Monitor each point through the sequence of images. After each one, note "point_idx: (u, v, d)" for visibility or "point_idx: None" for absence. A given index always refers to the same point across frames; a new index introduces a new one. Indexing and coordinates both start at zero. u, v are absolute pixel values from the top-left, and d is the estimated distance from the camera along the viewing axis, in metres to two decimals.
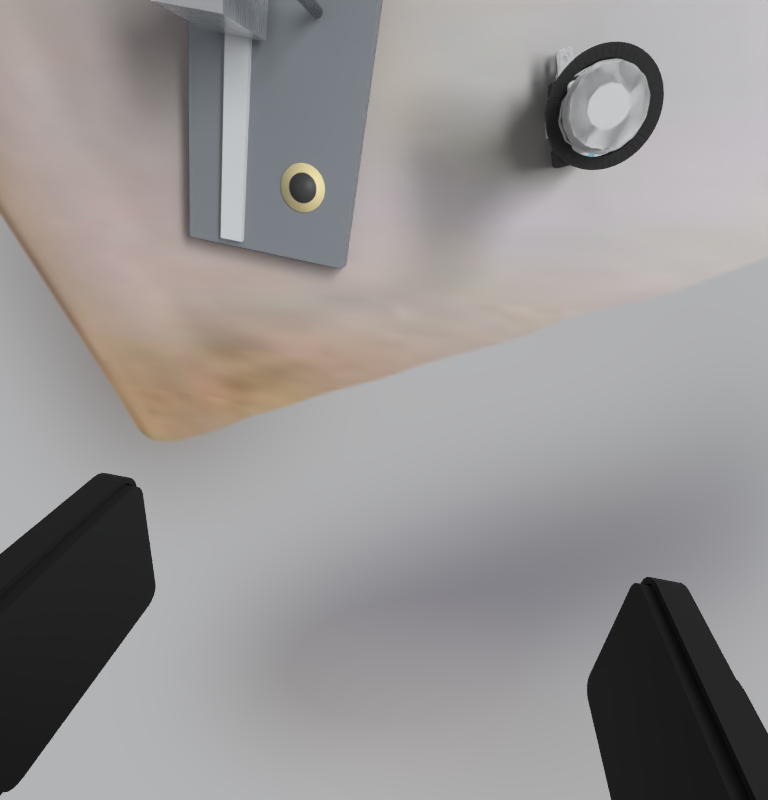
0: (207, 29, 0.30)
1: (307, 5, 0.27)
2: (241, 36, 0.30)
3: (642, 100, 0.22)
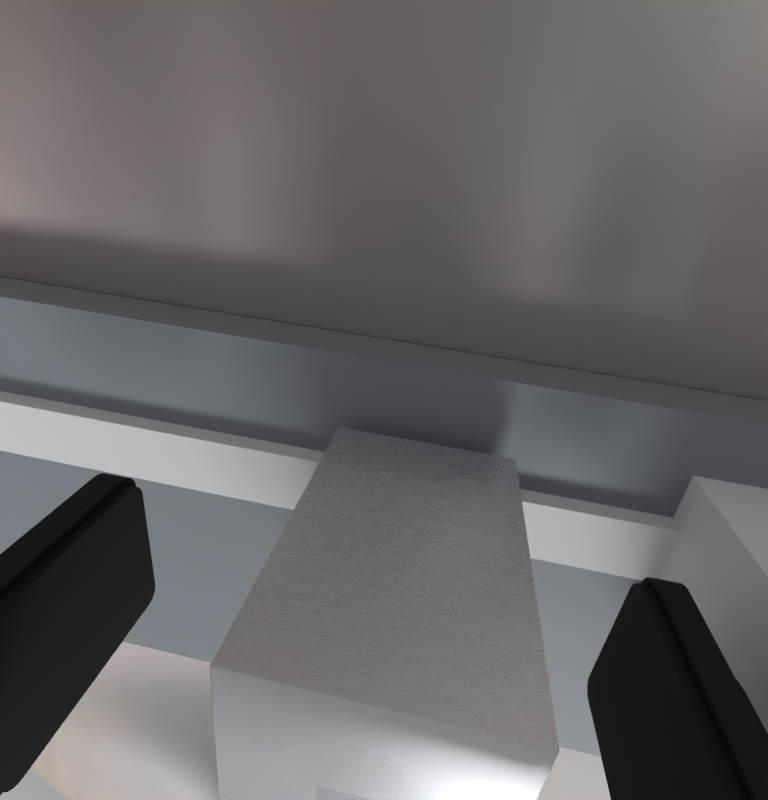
0: None
1: None
2: None
3: None
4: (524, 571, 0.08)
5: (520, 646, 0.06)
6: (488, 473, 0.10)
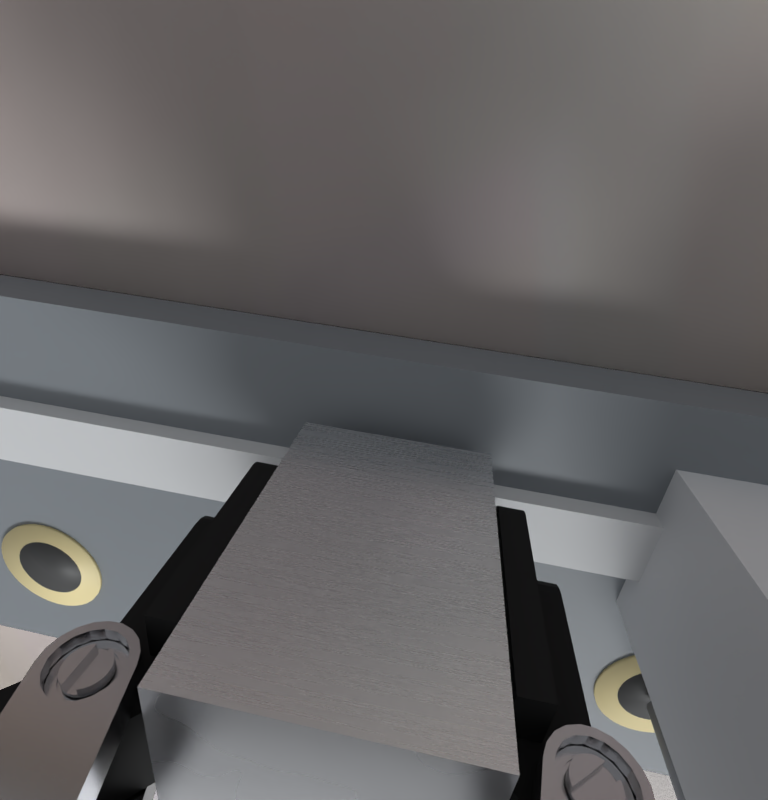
0: None
1: None
2: None
3: None
4: (493, 574, 0.07)
5: (483, 657, 0.06)
6: (461, 469, 0.09)
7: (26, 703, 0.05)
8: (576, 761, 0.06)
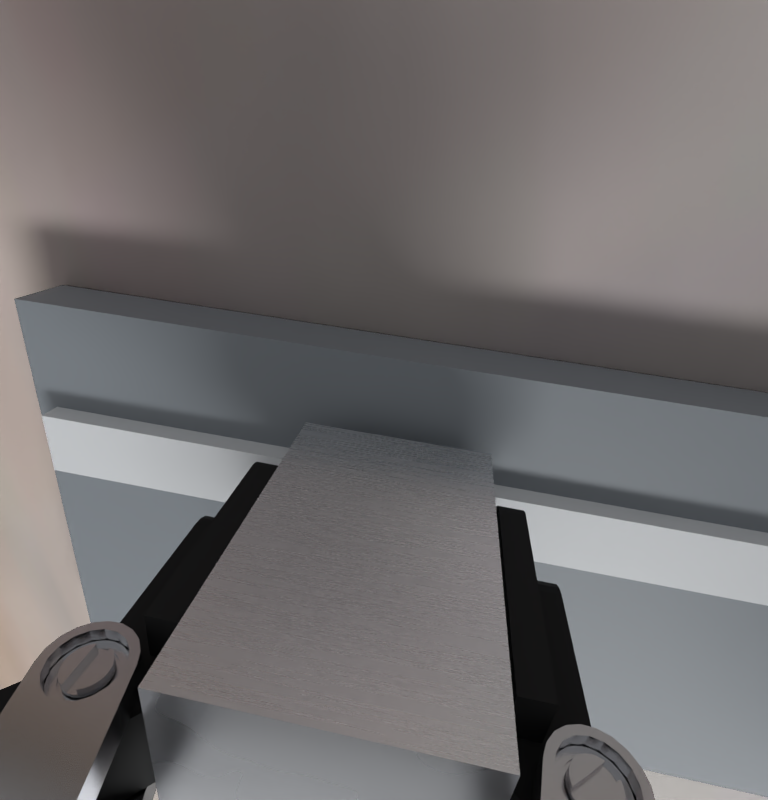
0: None
1: None
2: None
3: None
4: (493, 574, 0.07)
5: (484, 657, 0.06)
6: (461, 469, 0.09)
7: (26, 703, 0.05)
8: (576, 761, 0.06)
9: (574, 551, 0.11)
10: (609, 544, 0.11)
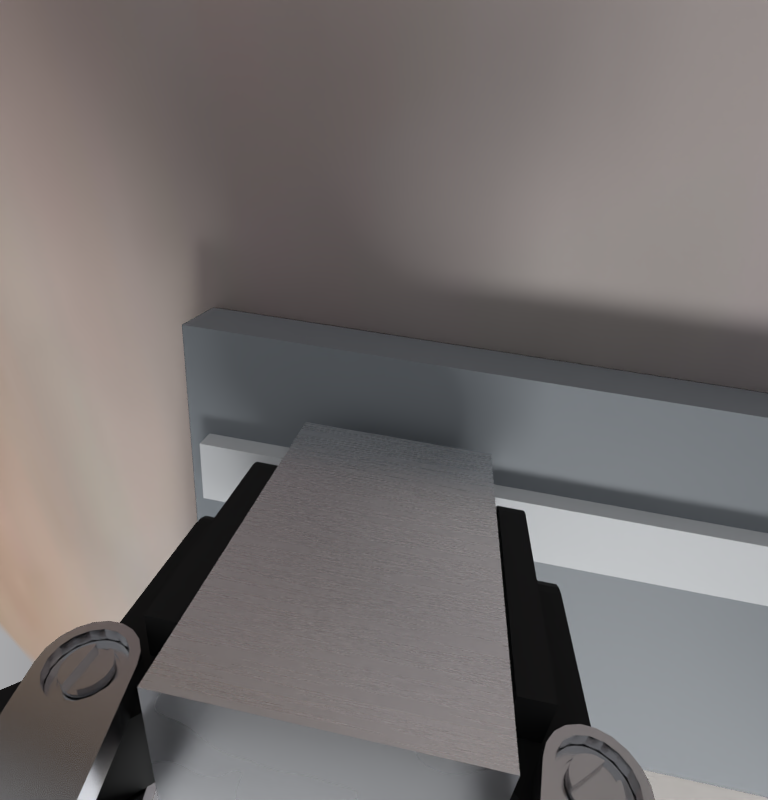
0: None
1: None
2: None
3: None
4: (493, 574, 0.07)
5: (484, 657, 0.06)
6: (461, 469, 0.09)
7: (26, 703, 0.05)
8: (576, 761, 0.06)
9: (760, 586, 0.11)
10: None
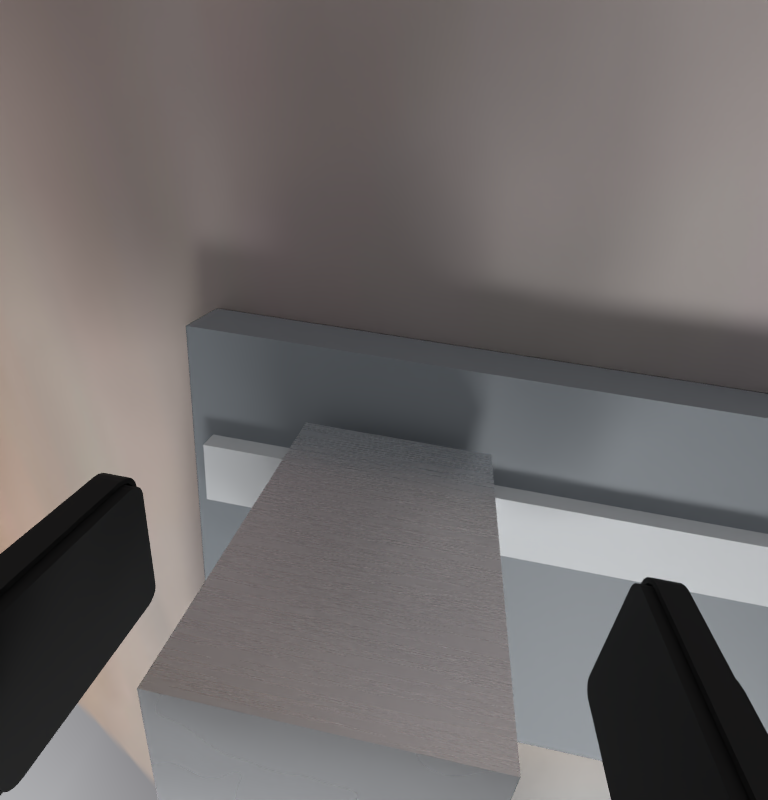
0: None
1: None
2: None
3: None
4: (493, 575, 0.07)
5: (484, 659, 0.06)
6: (461, 470, 0.09)
7: None
8: None
9: (765, 588, 0.11)
10: None
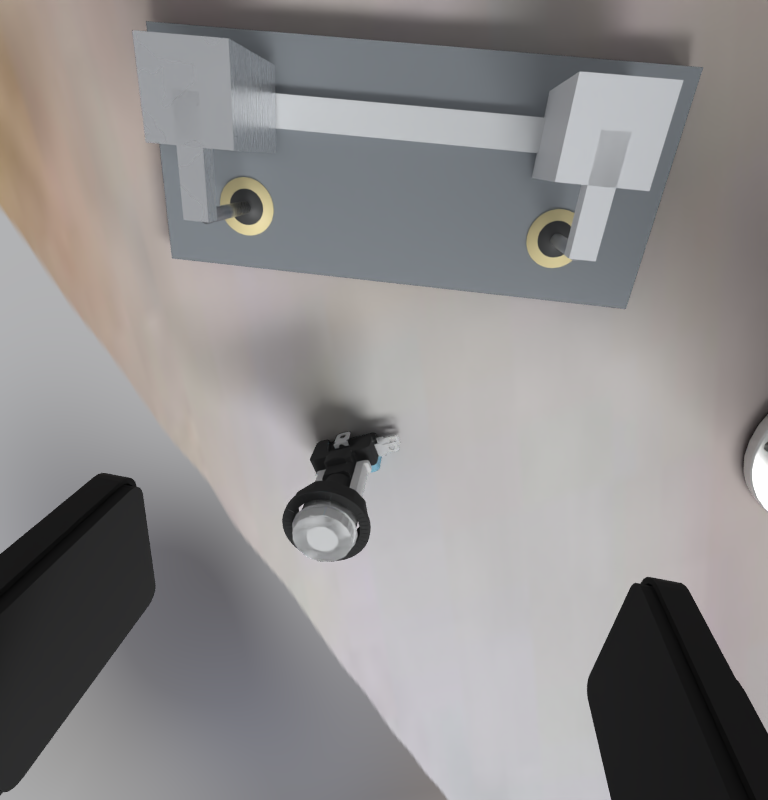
0: None
1: None
2: None
3: (329, 557, 0.29)
4: None
5: None
6: None
7: None
8: None
9: (398, 128, 0.25)
10: (411, 121, 0.25)
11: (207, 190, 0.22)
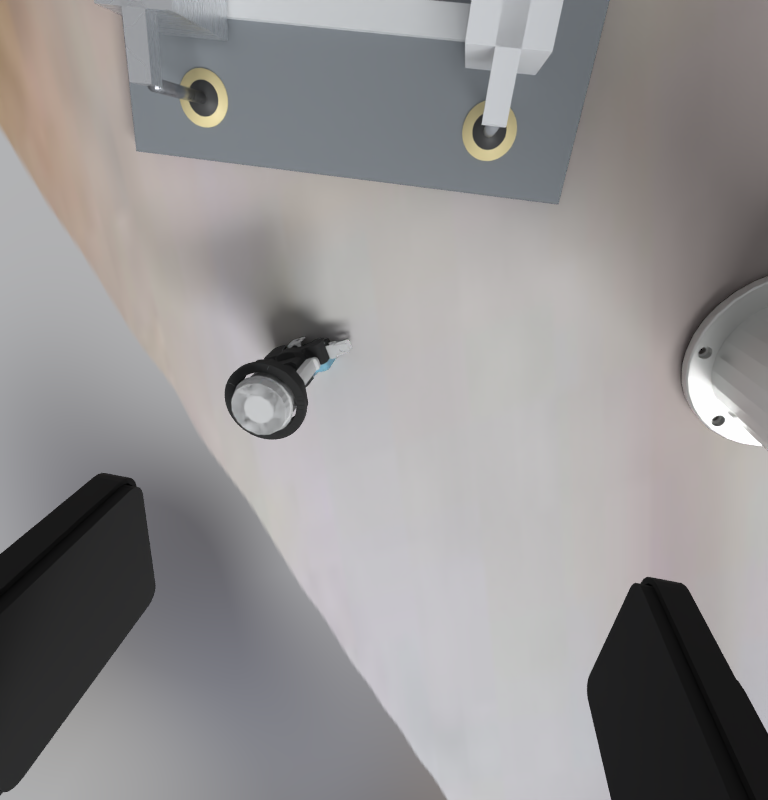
0: None
1: None
2: None
3: (265, 430, 0.30)
4: None
5: None
6: None
7: None
8: None
9: (339, 16, 0.27)
10: (351, 9, 0.27)
11: (150, 52, 0.24)
